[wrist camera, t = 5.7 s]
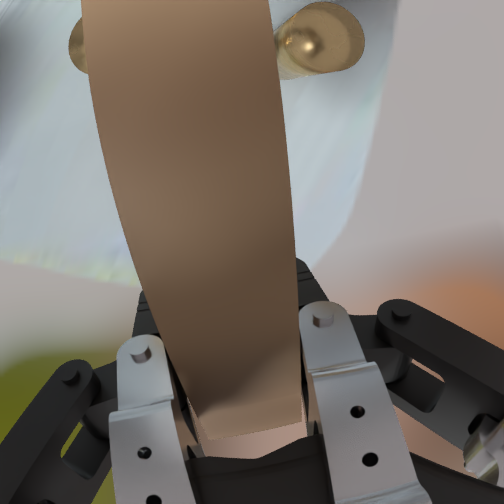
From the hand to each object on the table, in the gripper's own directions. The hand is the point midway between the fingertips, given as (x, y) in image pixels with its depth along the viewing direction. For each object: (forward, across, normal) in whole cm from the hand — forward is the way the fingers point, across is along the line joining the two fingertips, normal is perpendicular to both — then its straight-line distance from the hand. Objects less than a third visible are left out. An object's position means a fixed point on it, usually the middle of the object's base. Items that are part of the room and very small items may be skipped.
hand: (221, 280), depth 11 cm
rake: (+1, 0, -6) cm, 6 cm away
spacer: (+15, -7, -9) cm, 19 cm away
